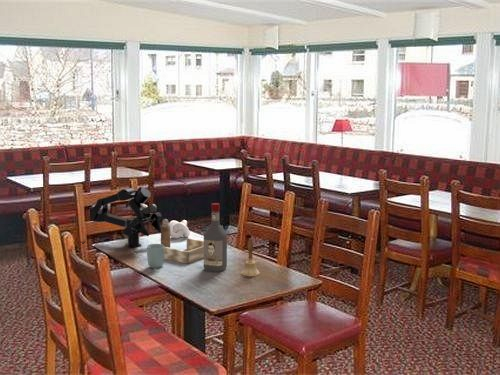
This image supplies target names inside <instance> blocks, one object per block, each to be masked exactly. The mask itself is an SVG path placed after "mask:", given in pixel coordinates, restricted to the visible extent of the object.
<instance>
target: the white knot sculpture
mask: <svg viewBox="0 0 500 375" xmlns="http://www.w3.org/2000/svg"><path fill="white" fill-rule="evenodd" d="M168 222H169V221H168ZM168 224H169V226H170V238H172V239H176V240H177V239H180V238H181V237H184V238H189V237H190V233H191V232H190V229H189V227H188V221H187V220H185V219H183V220H182V221H181V222H179V221H177V220H171V221H170V222H169V223H168Z"/></svg>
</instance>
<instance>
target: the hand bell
mask: <svg viewBox="0 0 500 375" xmlns="http://www.w3.org/2000/svg"><path fill="white" fill-rule="evenodd" d="M247 250H248V260H246V261H245V264H244V268H243V270H242V271H241V272H240V274H241V275H242V276H244V277H258V276H259V275H261V273H260V271H259V270H258V268H257V262H256V261H255V260H253V251H254V242H253V238H250V237H249V238H248V242H247Z"/></svg>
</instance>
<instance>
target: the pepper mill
mask: <svg viewBox="0 0 500 375" xmlns="http://www.w3.org/2000/svg"><path fill="white" fill-rule="evenodd" d="M160 227H161V232H160V244H162V245H164V247H169V248H171V236H170V226H169V220H168V219H167V218H164V219H163V220H162V224H161V225H160Z"/></svg>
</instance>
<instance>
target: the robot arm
mask: <svg viewBox="0 0 500 375" xmlns="http://www.w3.org/2000/svg"><path fill="white" fill-rule="evenodd" d="M151 196H152V193H151V191H150V190H148V188H146V187H144V186H139V188H138V190H136V189H134V188H133V187H129V188H124V189H123V188H122V189H121V190H119V191H118V192H117V193H115V194H112V195H109V196H105V197H102V198H101V197H100V198H98V199H97V201H96V204H95V205H94V206H93V207H92V209H91V211H90V213H89V218H90V220H91V221H92V222H94V223H103V222H105V223H108V224H111V225H116V226H119V227H121V228H124V229H123V230H122V231H123V234H124V235H126V236H127V242H126V243H125V246H127V247H128V248H134V247H141V246H142V244H141V243H140V233H141V234H143V235H144V236H146V237H149V236H150V233H149V232H148V230H147V228H146V227H145V223H147V222H149V223H150V225H151V226H152V227H153V228H154V229H155V230H156V231H157V232H159V233H161V224H160V223H161V222H160V220H161V217H163V215H162V213H161V212H157V210H158V207H157V205H156V204H155V203H152V204H150V205H149V206H147V207H146V206H144V205H143V204H145V203H146V202H147V201H148V200H149V198H150V197H151ZM119 201H120V202H122V201H123V202H125V201H126V202H125V208H130V209H131V211H132V212H133V214H132V216H131V217H130V216H129V217H127V218H126V217H122V216H118V215H114V214H111V213H109V209H108V208H109V207H108V205H110V204H113V203H116V202H119Z"/></svg>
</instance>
